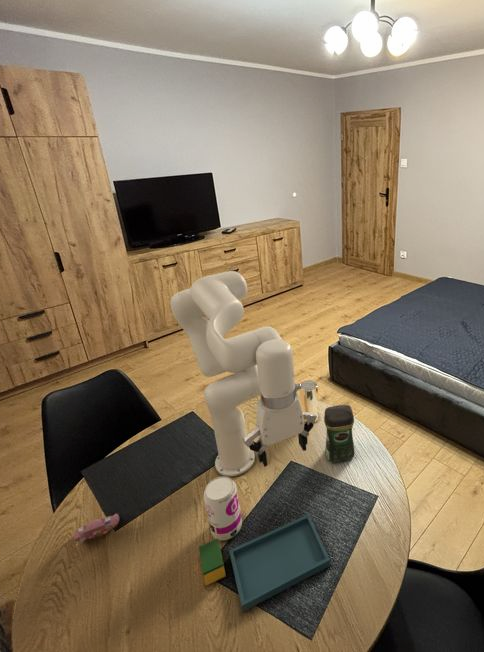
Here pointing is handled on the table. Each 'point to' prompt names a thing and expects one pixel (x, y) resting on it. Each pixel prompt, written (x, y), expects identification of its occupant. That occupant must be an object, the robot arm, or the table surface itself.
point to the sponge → (212, 562)
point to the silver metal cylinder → (309, 397)
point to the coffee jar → (339, 433)
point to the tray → (277, 561)
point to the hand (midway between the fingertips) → (283, 454)
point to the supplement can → (222, 508)
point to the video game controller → (96, 528)
